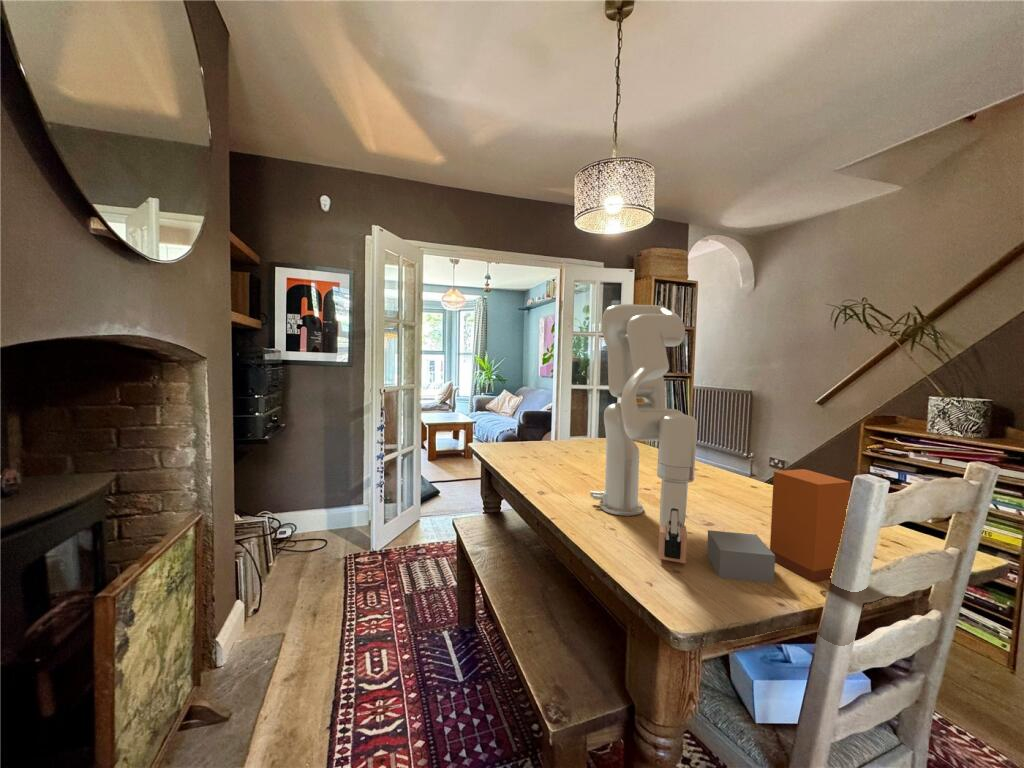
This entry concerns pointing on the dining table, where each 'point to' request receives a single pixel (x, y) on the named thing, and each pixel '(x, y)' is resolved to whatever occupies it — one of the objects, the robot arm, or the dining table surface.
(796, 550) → the tall orange brick
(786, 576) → the dining table surface
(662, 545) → the terracotta block
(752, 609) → the dining table surface
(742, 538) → the charcoal block
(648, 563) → the dining table surface
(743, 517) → the dining table surface
